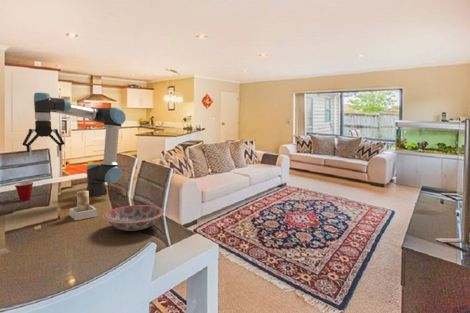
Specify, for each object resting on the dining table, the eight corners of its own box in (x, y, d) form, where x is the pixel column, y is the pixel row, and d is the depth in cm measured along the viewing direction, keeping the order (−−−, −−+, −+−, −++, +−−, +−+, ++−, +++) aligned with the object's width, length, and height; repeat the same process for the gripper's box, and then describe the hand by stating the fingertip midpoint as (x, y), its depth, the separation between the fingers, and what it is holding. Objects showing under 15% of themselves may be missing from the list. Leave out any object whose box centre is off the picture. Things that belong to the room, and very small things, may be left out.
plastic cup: (17, 198, 198) (16, 181, 197) (36, 197, 202) (35, 180, 201) (12, 202, 188) (11, 184, 187) (32, 201, 193) (31, 183, 191)
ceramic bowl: (143, 215, 168) (143, 202, 167) (175, 227, 149) (175, 212, 148) (92, 228, 145) (92, 213, 144) (123, 244, 127) (122, 226, 126)
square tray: (91, 211, 173) (90, 205, 172) (97, 216, 164) (97, 209, 164) (69, 215, 165) (69, 208, 164) (75, 220, 156) (75, 213, 156)
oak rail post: (87, 211, 169) (87, 190, 167) (90, 214, 164) (90, 192, 163) (76, 213, 165) (75, 191, 163) (79, 216, 160) (78, 193, 159)
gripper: (66, 121, 175) (67, 155, 177) (14, 119, 158) (17, 158, 160) (69, 121, 170) (70, 156, 172) (16, 119, 153) (19, 159, 155)
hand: (44, 157), depth 166 cm, fingers open, 13 cm apart
